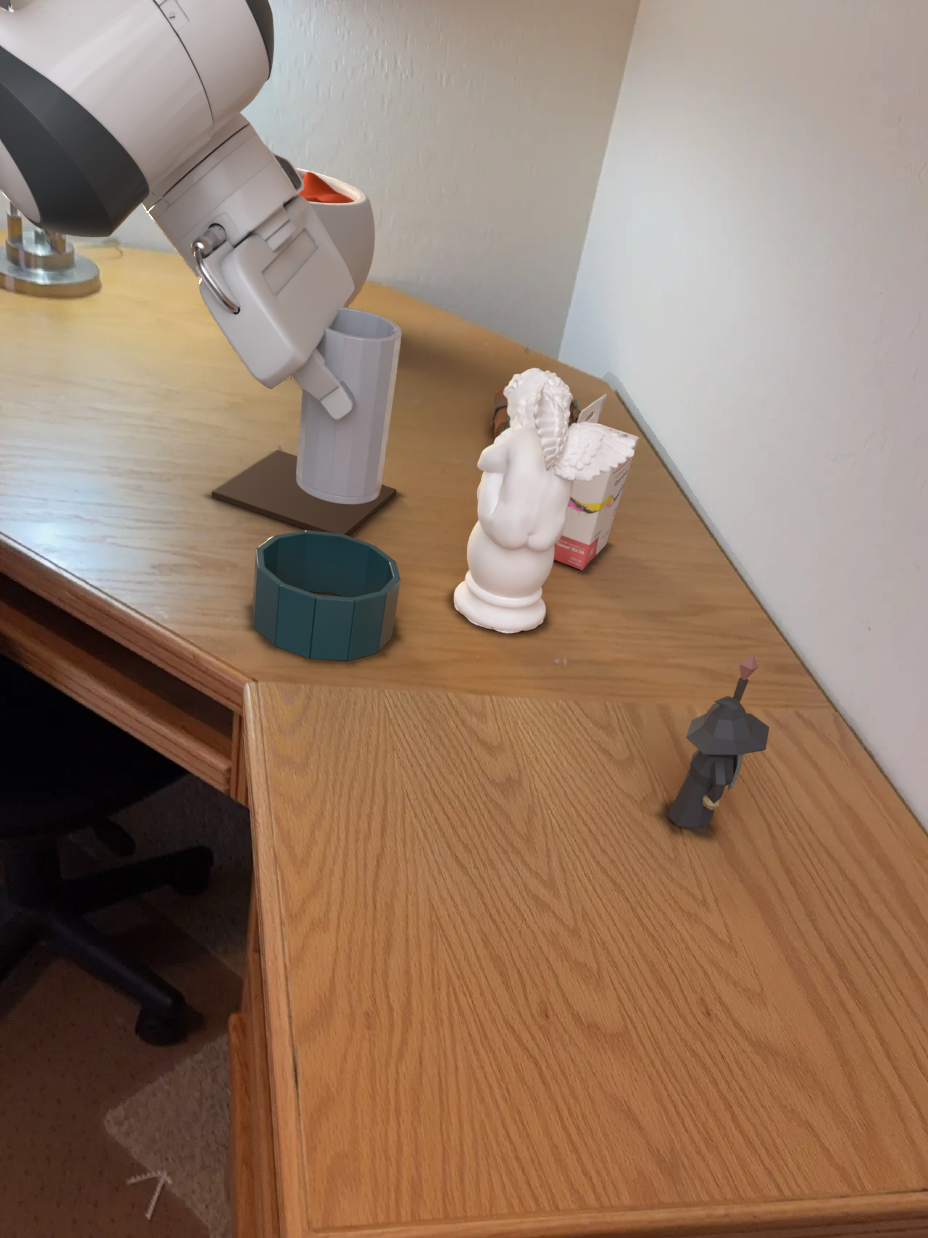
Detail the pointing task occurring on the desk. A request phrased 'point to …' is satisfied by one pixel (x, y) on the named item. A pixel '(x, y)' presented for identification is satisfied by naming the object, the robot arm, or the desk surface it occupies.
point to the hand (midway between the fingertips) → (356, 393)
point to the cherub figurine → (529, 500)
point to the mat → (294, 497)
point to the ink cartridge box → (592, 505)
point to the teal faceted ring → (320, 619)
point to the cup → (355, 444)
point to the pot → (343, 222)
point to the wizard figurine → (717, 755)
